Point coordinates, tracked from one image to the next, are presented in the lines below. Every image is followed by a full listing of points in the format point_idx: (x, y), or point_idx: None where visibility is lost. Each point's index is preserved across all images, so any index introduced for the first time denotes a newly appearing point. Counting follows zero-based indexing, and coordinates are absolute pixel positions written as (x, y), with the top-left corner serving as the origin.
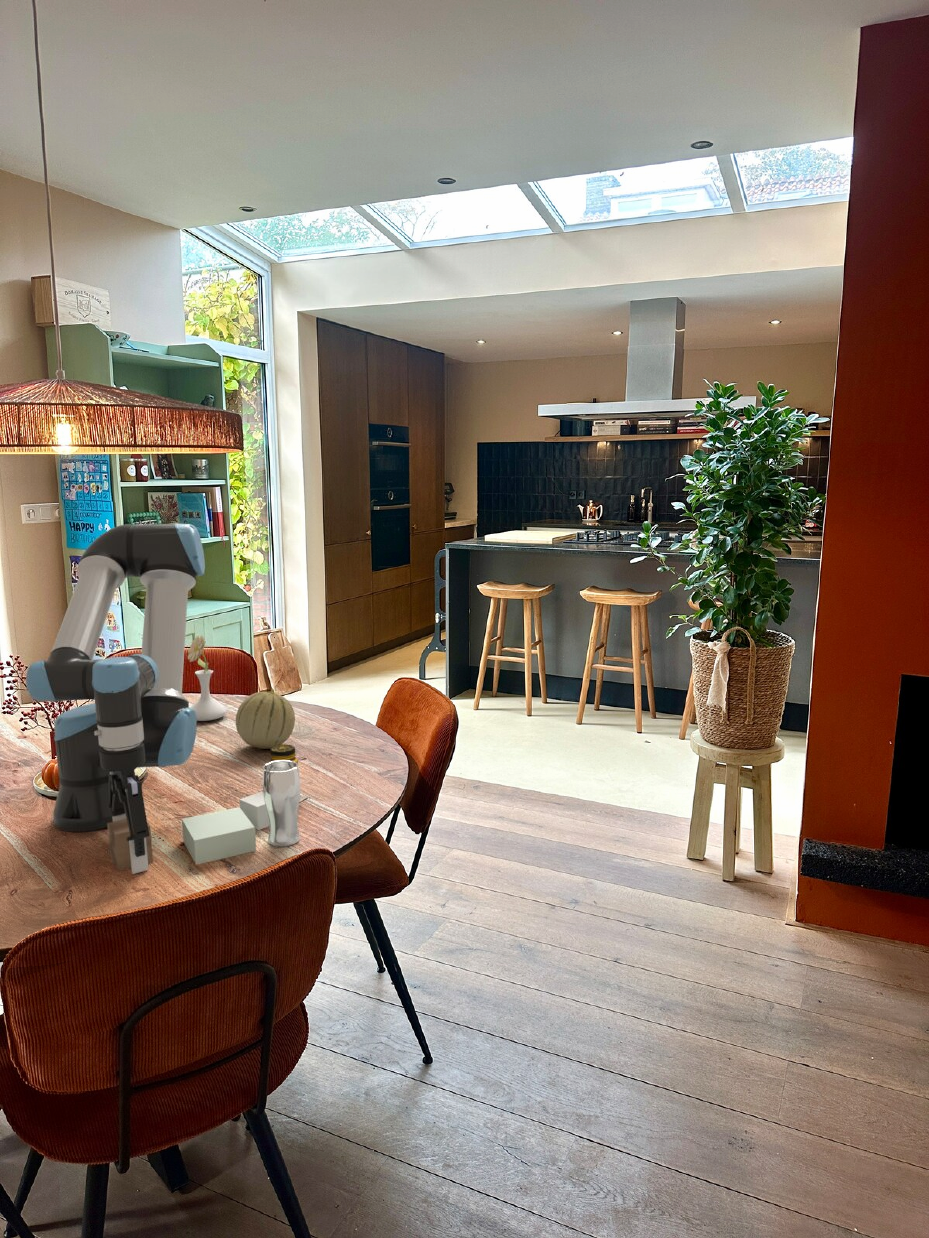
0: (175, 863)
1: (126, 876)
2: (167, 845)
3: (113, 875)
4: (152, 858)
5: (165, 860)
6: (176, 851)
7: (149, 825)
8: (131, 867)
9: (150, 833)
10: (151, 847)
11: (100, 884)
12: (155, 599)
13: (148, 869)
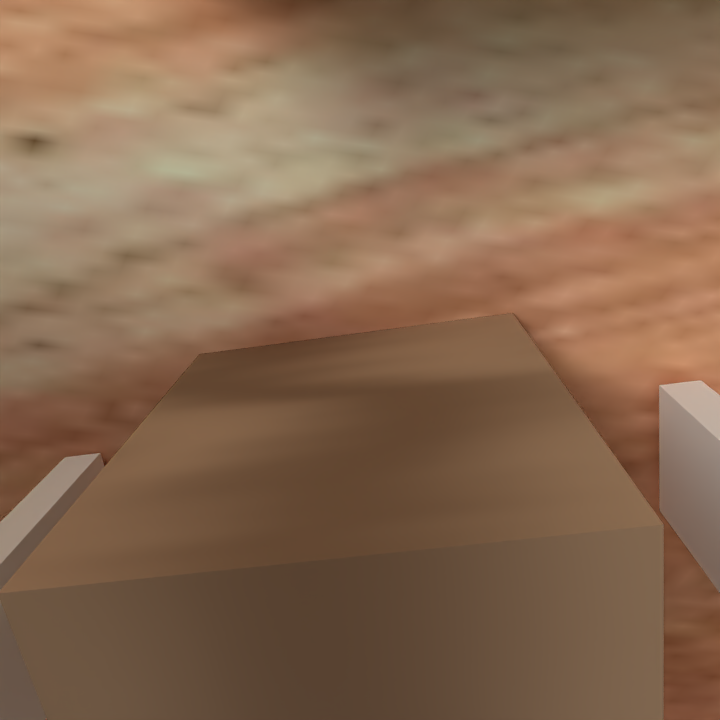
0: (693, 109)
1: (677, 543)
2: (188, 122)
3: None
4: (517, 325)
5: (556, 198)
6: (392, 50)
7: (627, 531)
8: (683, 537)
9: (609, 451)
10: (546, 367)
11: (690, 704)
12: None
13: (698, 381)
